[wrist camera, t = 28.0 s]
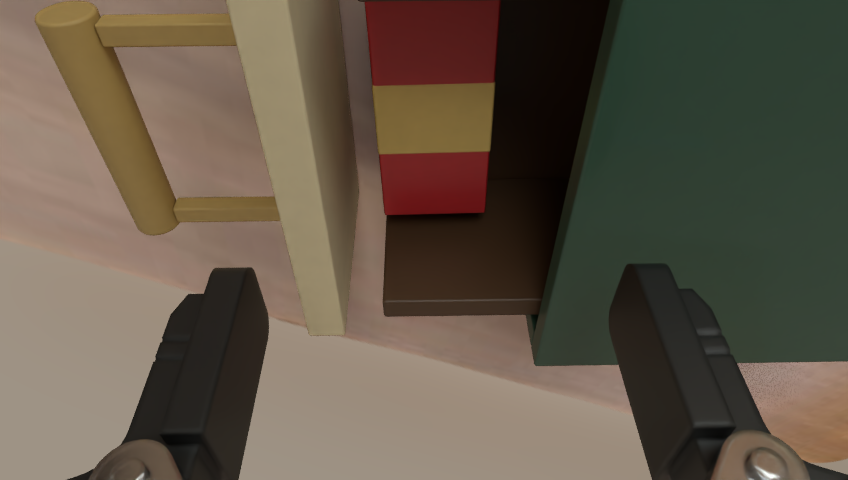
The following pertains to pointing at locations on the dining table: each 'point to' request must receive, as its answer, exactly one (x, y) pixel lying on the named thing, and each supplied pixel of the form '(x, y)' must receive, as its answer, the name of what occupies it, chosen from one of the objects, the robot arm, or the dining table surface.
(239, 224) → the dining table surface
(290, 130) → the drawer
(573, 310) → the cabinet
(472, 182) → the red yellow striped block
